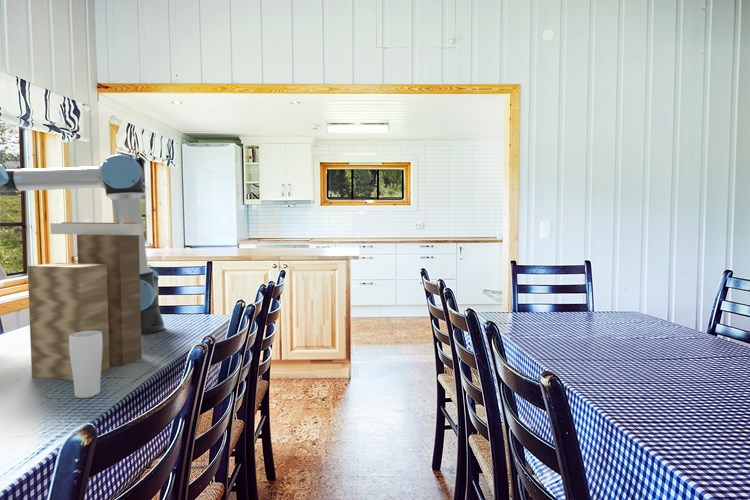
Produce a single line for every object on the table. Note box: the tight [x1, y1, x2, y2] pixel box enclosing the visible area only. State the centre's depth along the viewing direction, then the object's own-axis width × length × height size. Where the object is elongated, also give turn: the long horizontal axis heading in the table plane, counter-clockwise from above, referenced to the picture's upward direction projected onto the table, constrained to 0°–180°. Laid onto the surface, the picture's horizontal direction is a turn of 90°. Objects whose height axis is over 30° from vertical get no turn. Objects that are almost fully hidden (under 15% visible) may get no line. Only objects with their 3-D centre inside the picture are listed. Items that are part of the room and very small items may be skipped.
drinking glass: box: [69, 331, 103, 399], centre depth 108 cm, size 7×7×15 cm
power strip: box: [49, 221, 144, 235], centre depth 134 cm, size 28×4×4 cm, turn 80°
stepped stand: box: [27, 234, 143, 381], centre depth 129 cm, size 17×21×38 cm
